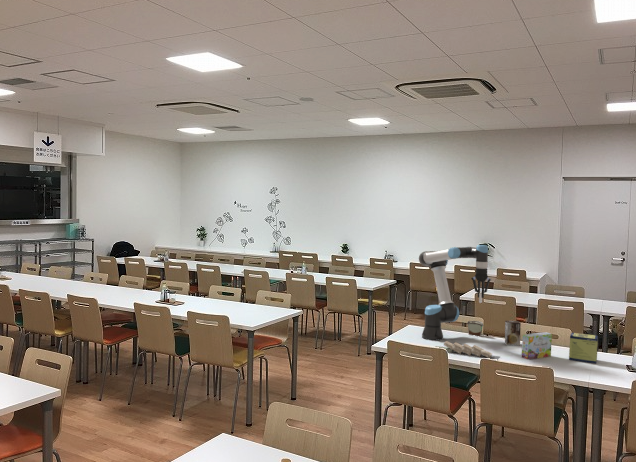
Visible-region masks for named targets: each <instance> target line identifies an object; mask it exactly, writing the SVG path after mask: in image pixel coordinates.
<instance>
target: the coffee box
mask: <svg viewBox="0 0 636 462" xmlns="http://www.w3.org/2000/svg"><path fill="white" fill-rule="evenodd" d="M504 323H505V324H504V344H505V345H506V346H521V322H520V321H519V320H505V321H504Z"/></svg>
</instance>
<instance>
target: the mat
mask: <svg viewBox="0 0 636 462" xmlns="http://www.w3.org/2000/svg"><path fill="white" fill-rule="evenodd" d="M448 353H449V354H451V355H456V356H457V355H458V356H463V357H468V358H477V359H482V358H488V357H486V356H484V355H481V356H480V357H479V356H477V355H475V354H473V353H472V354H471V355H468V354H466V353H464V352H462V353H461V354H460V353H458V352H456V351H453V352H452V353H451V352H447V354H448ZM500 358H501V356H499V355H493V354H492V356H491V357H490V359H497V361H499V360H500Z"/></svg>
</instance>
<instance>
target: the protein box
mask: <svg viewBox="0 0 636 462" xmlns="http://www.w3.org/2000/svg"><path fill="white" fill-rule="evenodd" d="M598 342H599V336H598V335H595V334H586V333H577V332H571V333H570V335H569V352H568V360H569V361H575V362H581V363H589V364H595V365H596V364H597V363H598V362H597V361H598V360H597V359H598V348H599V347H598V346H599V343H598Z"/></svg>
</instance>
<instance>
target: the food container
mask: <svg viewBox="0 0 636 462" xmlns="http://www.w3.org/2000/svg"><path fill="white" fill-rule="evenodd" d="M466 324H467V329H468V330H467V332H468V335H470V336H473V335H475V336H474V337H478V336H479V337H480V338H481V337H482V331H483V327H484V322H482V321H479V320H468V321H467V322H466Z"/></svg>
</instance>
